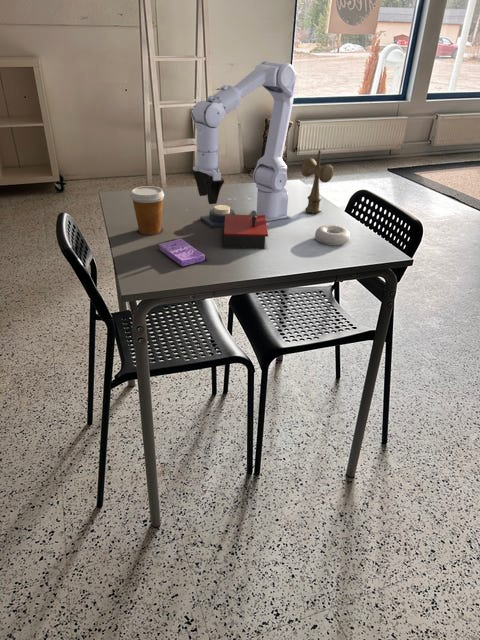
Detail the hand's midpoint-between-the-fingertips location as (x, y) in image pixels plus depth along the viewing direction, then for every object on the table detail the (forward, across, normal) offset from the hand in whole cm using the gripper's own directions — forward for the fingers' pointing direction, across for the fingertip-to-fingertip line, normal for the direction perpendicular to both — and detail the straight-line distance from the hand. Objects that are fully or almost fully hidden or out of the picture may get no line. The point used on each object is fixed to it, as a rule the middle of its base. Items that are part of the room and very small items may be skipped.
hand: (207, 199), depth 140 cm
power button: (+7, -8, +8) cm, 13 cm away
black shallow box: (+10, +7, +8) cm, 15 cm away
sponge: (+10, +12, -12) cm, 20 cm away
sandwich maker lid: (+6, +7, +9) cm, 13 cm away
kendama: (+10, -5, +39) cm, 41 cm away
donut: (+10, +18, +32) cm, 38 cm away
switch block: (+10, -8, +8) cm, 15 cm away
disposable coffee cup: (+10, -7, -15) cm, 20 cm away
